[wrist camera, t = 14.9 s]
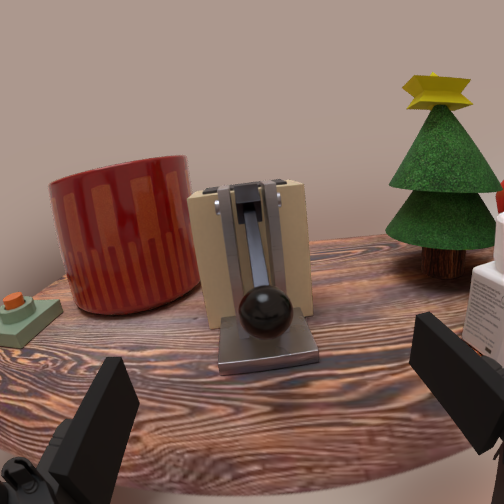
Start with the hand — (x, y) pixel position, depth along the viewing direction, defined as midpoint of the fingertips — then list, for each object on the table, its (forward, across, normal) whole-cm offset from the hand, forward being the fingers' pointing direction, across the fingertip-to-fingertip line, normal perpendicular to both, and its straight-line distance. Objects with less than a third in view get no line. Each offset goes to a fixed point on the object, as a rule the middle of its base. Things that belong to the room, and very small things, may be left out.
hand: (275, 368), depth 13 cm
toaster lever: (+14, 0, 0) cm, 14 cm away
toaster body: (+25, 0, -10) cm, 27 cm away
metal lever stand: (+18, 0, -10) cm, 21 cm away
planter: (+38, -19, -10) cm, 43 cm away
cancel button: (+25, -37, -6) cm, 45 cm away
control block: (+25, -37, -10) cm, 46 cm away
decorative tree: (+27, +29, -10) cm, 41 cm away
